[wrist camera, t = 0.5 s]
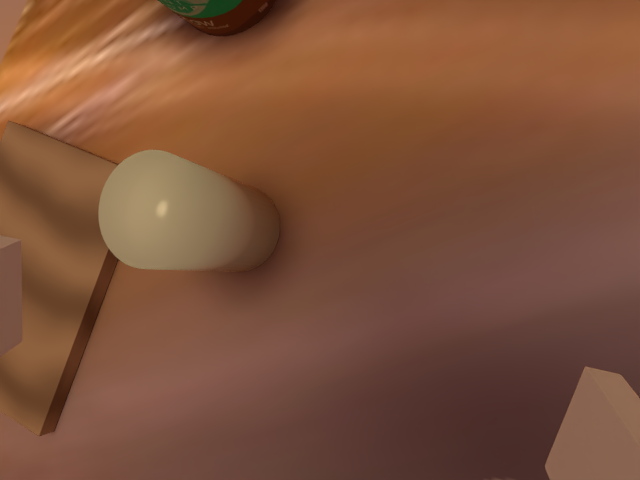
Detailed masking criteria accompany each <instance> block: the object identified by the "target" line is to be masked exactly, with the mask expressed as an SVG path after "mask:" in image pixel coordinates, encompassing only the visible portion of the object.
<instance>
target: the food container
mask: <svg viewBox="0 0 640 480" xmlns="http://www.w3.org/2000/svg"><path fill="white" fill-rule="evenodd" d="M158 1H159V2H161V3H162V4H164V5H165V6H166V7H168V8H169V9H170V10H172V11H173V12H175V13H176V14H177V15H179V16H180V17H181V18H183V19H184V20H186V21H187V22H188V23H190V24H191V25H193V26H194V27H195V28H197V29H198V30H200V31H203V32H205V33H207V34H209V35H214V36H229V35H234V34H237V33H240V32H243V31H245V30H247V29H249V28H251V27H252V26H254V25H255V24H256V23H258V22H259V21H260V20H261V19H262V18H263V17H264V16H265V15H266V14H267V13H268V12H269V11H270V9H271V8H272V7H273V5H274V4H275V2H276V1H277V0H158Z"/></svg>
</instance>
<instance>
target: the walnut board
mask: <svg viewBox="0 0 640 480" xmlns="http://www.w3.org/2000/svg"><path fill="white" fill-rule="evenodd" d="M118 165H119V164H116V163H114V162H111V161H109V160H106V159H104V158H102V157H99V156H97V155H94V154H92V153H89V152H87V151H84V150H82V149H79V148H77V147H75V146H72V145H70V144H67V143H65V142H62V141H60V140H57V139H55V138H53V137H50V136H48V135H45V134H43V133H40V132H38V131H35V130H33V129H30V128H28V127H26V126H23V125H20V124H17V123H14V122H11V121H8V123H7V126H6V128H5V131H4V134H3V137H2V139H1V142H0V235H2V236H6V237H11V238H15V239H20V240H21V267H22V342H21V343H19V344H18V345H17V346H15V347H14V348H12V349H11V350H10V351H8V352H7V353H5V354H4V355H2V356H1V357H0V411H1V412H2V413H4V414H5V415H7V416H8V417H10V418H12V419H13V420H15V421H16V422H18V423H19V424H21V425H22V426H24V427H25V428H27V429H28V430H30V431H31V432H33V433H34V434H36V435H37V436H42V435H44V434H47V433H50V432H53V431H54V430H55V427H56V425H57V422H58V419H59V416H60V414H61V411H62V408H63V406H64V403H65V400H66V398H67V395H68V392H69V390H70V387H71V384H72V382H73V379H74V376H75V374H76V371H77V368H78V366H79V363H80V360H81V357H82V355H83V352H84V349H85V347H86V344H87V341H88V339H89V336H90V333H91V331H92V328H93V325H94V323H95V320H96V317H97V315H98V312H99V309H100V306H101V304H102V301H103V298H104V296H105V293H106V290H107V288H108V285H109V282H110V280H111V277H112V274H113V272H114V269H115V266H116V264H117V261H118V258H117V257H116V256H115V255H114V254H113V253H112V252H111V251H110V249H109V248H108V247H107V245H106V243H105V241H104V239H103V236H102V234H101V230H100V226H99V215H98V211H99V202H100V197H101V193H102V190H103V188H104V185H105V183H106V181H107V179H108V178H109V176H110V174H111V173H112V172H113V170H114V169H115V168H116V167H117V166H118Z"/></svg>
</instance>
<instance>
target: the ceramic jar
mask: <svg viewBox="0 0 640 480" xmlns="http://www.w3.org/2000/svg"><path fill="white" fill-rule="evenodd" d="M98 215H99V226H100V230H101V234H102V236H103V239H104V241H105V243H106V245H107V247H108V248H109V249H110V251H111V252H112V253H113V254H114V255H115V256H116V257H117V258H118V259H119V260H120V261H122V262H123V263H125V264H127V265H129V266H132V267H135V268H139V269H160V270H197V271H233V272H241V271H248V270H251V269H254V268H256V267H258V266H259V265H261V264H262V263H264V262H265V261H266V260H267V259H268V258H269V256H270V255H271V254H272V252H273V251H274V249H275V247H276V245H277V242H278V239H279V233H280V221H279V215H278V212H277V210H276V207H275V205H274V204H273V202H272V201H271V199H270V198H269V197H268V196H267V195H266V194H265V193H263V192H262V191H260V190H258V189H256V188H254V187H251V186H249V185H246V184H244V183H242V182H239V181H237V180H234V179H232V178H230V177H227V176H225V175H222V174H220V173H217V172H215V171H213V170H210V169H208V168H205V167H203V166H200V165H198V164H196V163H193V162H191V161H188V160H186V159H183V158H181V157H179V156H176V155H174V154H171V153H169V152H165V151H161V150H146V151H141V152H138V153H136V154H133V155H131V156H129V157H128V158H126V159H125V160H124V161H122V162H121V163H120V164H119V165H118V166H117V167H116V168H115V169H114V170H113V172H112V173H111V174H110V176H109V178H108V179H107V181H106V183H105V185H104V188H103V190H102V193H101V197H100V202H99V211H98Z"/></svg>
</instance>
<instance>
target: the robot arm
mask: <svg viewBox="0 0 640 480" xmlns="http://www.w3.org/2000/svg"><path fill="white" fill-rule="evenodd" d="M21 342H22V267H21V240H20V239H15V238H11V237H6V236H2V235H0V357H1V356H2V355H4V354H5V353H7V352H8V351H10V350H11V349H12V348H14V347H15V346H17V345H18V344H19V343H21ZM545 469H546V471H547V474H548V476H549V479H550V480H640V398H639V397H638V396H637V394H636V393H635V392H634V391H633V389H632V388H631V387H630V385H629V384H628V383H627V382H626V380H625V379H624V378H623V377H622V375H621V374H617V373H612V372H608V371H603V370H599V369H594V368H590V367H586V366H585V368H584V370H583V373H582V375H581V377H580V380H579V382H578V385H577V387H576V390H575V392H574V395H573V397H572V400H571V402H570V405H569V407H568V409H567V412H566V414H565V417H564V419H563V422H562V424H561V427H560V429H559V432H558V434H557V437H556V439H555V441H554V444H553V446H552V449H551V451H550V454H549V456H548V459H547V461H546V464H545Z"/></svg>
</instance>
